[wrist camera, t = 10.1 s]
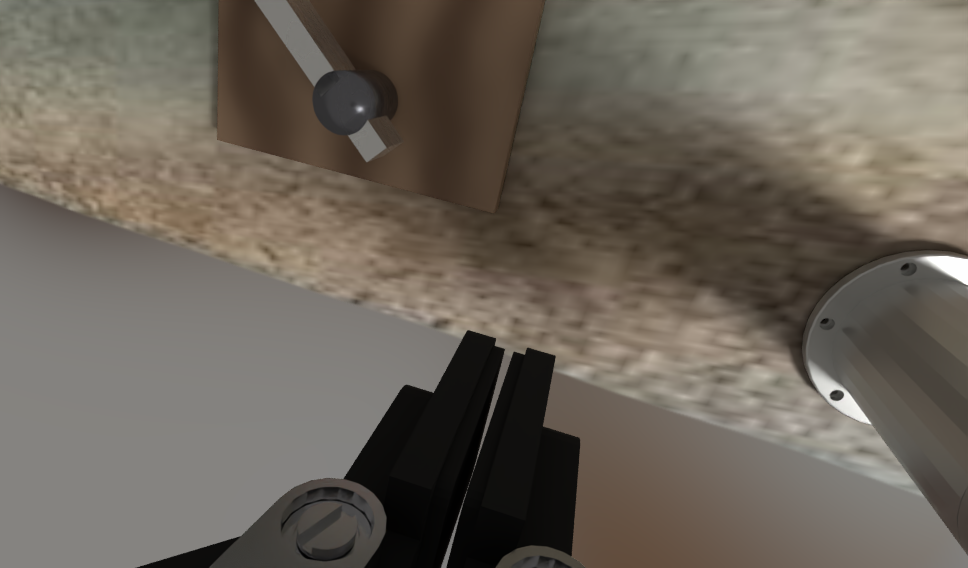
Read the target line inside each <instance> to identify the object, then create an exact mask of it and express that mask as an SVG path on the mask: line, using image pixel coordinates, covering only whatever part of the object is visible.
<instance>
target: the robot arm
mask: <svg viewBox="0 0 968 568" xmlns="http://www.w3.org/2000/svg"><path fill="white" fill-rule="evenodd" d="M904 264H905V266H904V267H902V266H903V265H904ZM901 267H902V268H901ZM825 318H826V319H825ZM823 319H825V320H824V321H822V320H823ZM495 342H496V338H493V337H490V336H486V335H483V334H479V333H476V332H473V331H469V330H467V332H466V334H465V336H464V337H463V339H462V341H461V343H460V345H459V347H458V349H457V350H456V352H455V354H454V356H453V358H452V360H451V362H450V364H449V365H448V367H447V369H446V371H445V373H444V375H443V376H442V378H441V381H440V382H439V384H438V386H437V388H436V389H435V391H434V393H432V392H429V391H426V390H423V389H419V388H416V387H413V386H410V385H405V386H404V387H403V388H402V389H401V390H400V392H399V393H398V395H397V397H396V398H395V400H394V401H393V403H392V404H391V406H390V407H389V409H388V411H387V412H386V414H385V415H384V417H383V418H382V420H381V421H380V423H379V424H378V426H377V428H376V429H375V431H374V432H373V434H372V436H371V437H370V439H369V440H368V442H367V443H366V445H365V446H364V448H363V449H362V451H361V453H360V454H359V456H358V457H357V459H356V460H355V462H354V463H353V465H352V466H351V468H350V470H349V471H348V473H347V474H346V476H345V477H344V479H335V478H334V479H333V478H324V479H318V480H311V481H309V482H306V483H303V484H301V485H299V486H296V487H294V488H293V489H291V490H290V491H288V492H287V493H286V494H284V495H283V496H282V497H281V498H280V499H278V501H276V502H275V503H274V505H272V506H271V507H270V508H269V509H268V510H267V511H266V512H265V513H264V514H263V515H262V516H261V517H260V518H259V519H258V520H257V521H256V522H255V523H254V524H253V525H252V526H251V527H250V528H249V529H248V530H247V531H246V532H245V533H244V534H243V535H242V536H240V537H237V538H233V539H230V540H227V541H223V542H220V543H217V544H213V545H210V546H207V547H204V548H200V549H197V550H193V551H190V552H187V553H183V554H180V555H177V556H174V557H170V558H167V559H163V560H161V561H157V562H154V563H150V564H147V565H144V566H140V567H137V568H441V565H442V562H443V560H444V556H445V554H446V551H447V548H448V545H449V542H450V539H451V536H452V533H453V530H454V527H455V524H456V521H457V518H458V515H459V512H460V509H461V506H462V503H463V500H464V497H465V494H466V497H465V500H464V503H463V507H462V510H461V514H460V517H459V522H458V525H457V529H456V533H455V537H454V541H453V544H452V548H451V553H450V556H449V560H448V564H447V568H585V567H584V566H583V565H582V564H581V563H580V562H579V561H577V560H576V559H574V558H572V557H571V556H572V543H573V542H572V541H573V529H574V517H575V504H576V491H577V477H578V466H579V452H580V439H579V438H578V437H575V436H572V435H569V434H565V433H562V432H559V431H556V430H552V429H549V428H546V427H543V422H544V417H545V411H546V406H547V400H548V394H549V390H550V384H551V379H552V373H553V368H554V363H555V357H556V356H555V355H551V354H548V353H544V352H541V351H537V350H534V349H531V348H527V350H526V353H525V355H523V354H520V353H517V352H513V355H512V358H511V361H510V365H509V367H508V370H507V374H506V376H505V379H504V382H503V386H502V388H501V391H500V394H499V398H498V400H497V403H496V406H495V409H494V412H493V415H492V418H491V421H490V424H489V427H488V430H487V433H486V436H485V439H484V442H483V445H482V448H481V451H480V454H479V457H478V460H477V463H476V466H475V462H476V459H477V455H478V451H479V447H480V444H481V439H482V436H483V432H484V428H485V424H486V420H487V416H488V413H489V409H490V405H491V401H492V398H493V394H494V390H495V386H496V382H497V378H498V374H499V371H500V367H501V363H502V359H503V355H504V351H505V349H503V348H500V347H496V346H495ZM802 355H803V361H804V366H805V369H806V371H807V374H808V376H809V378H810V380H811V382H812V383H813V385H814V386H815V388H816V390H817V391H818V393H819V394H820V395H821V396H822V397H823V398H824V400H825V401H826V402H827V403H828V404H830V405H831V406H832V407H834V408H835V409H836V410H838V411H839V412H840V413H842V414H844V415H846V416H848V417H850V418H852V419H854V420H856V421H858V422H862V423H865V424H869V425H872V426H873V427H874V428H875V429H876V431H877V432H878V433H879V435H880V436H881V438H882V439H883V440H884V442H885V443H886V444H887V446H888V447H889V448H890V450H891V451H892V453H893V454H894V455H895V457H896V458H897V459H898V461H899V462H900V464H901V465H902V466H903V468H904V469H905V470H906V472H907V473H908V474H909V476H910V477H911V479H912V480H913V481H914V483H915V484H916V485H917V487H918V488H919V490H920V491H921V492H922V494H923V495H924V496H925V498H926V499H927V500H928V502H929V503H930V504H931V506H932V507H933V509H934V510H935V511H936V513H937V514H938V515H939V517H940V518H941V519H942V521H943V522H944V523H945V525H946V526H947V528H948V529H949V531H950V532H951V533H952V535H953V536H954V537H955V539H956V540H957V541H958V543H959V544H960V546H961V547H962V548H963V550H964V551H965V552H966V554H967V555H968V256H966V255H962V254H958V253H954V252H949V251H936V250H922V251H910V252H903V253H899V254H895V255H891V256H886V257H883V258H880V259H878V260H875V261H873V262H871V263H868V264H866V265H863V266H862V267H860V268H858V269H856V270H855V271H853V272H851V273H850V274H848V275H846V276H845V277H844V278H842V279H841V280H840V281H839V282H837V283H836V284H835V285H834V286H833V287H831V288H830V289H829V290H828V291H827V293H826V294H825V295H824V296H823V297H822V298H821V300H820V301H819V302H818V303H817V305H816V306H815V308H814V310H813V312H812V313H811V315H810V317H809V319H808V321H807V325H806V328H805V331H804V334H803V343H802ZM474 466H475V469H474ZM473 470H474V472H473ZM472 473H473V475H472ZM471 476H472V478H471ZM470 479H471V481H470ZM469 482H470V484H469ZM468 485H469V487H468ZM467 488H468V490H467ZM466 491H467V493H466Z"/></svg>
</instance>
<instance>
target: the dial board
mask: <svg viewBox="0 0 968 568" xmlns="http://www.w3.org/2000/svg"><path fill="white" fill-rule="evenodd" d="M309 1H310V2H311V4H312V5H313V7H314V8H315V10H316V11H317V13H318V14H319V16H320V17H321V19H322V20H323V22H324V23H325V25H326V26H327V28H328V29H329V31H330V32H331V34H332V35H333V37H334V38H335V40H336V41H337V43H338V44H339V45H340V47H341V48H342V50H343V51H344V53H345V54H346V56H347V57H348V59H349V60H350V62H351V63H352V65H353V66H354V68H355V69H356V70H376V71H379V72H381V73H383V74H384V75H386V76H387V77H388V78H389V79H390V80H391V81H392V83H393V84H394V86H395V88H396V91H397V95H398V107H397V111H396V113H395V116H394V117H393V119H392V120H391V121H390V122H391V123H392V124H393V126H394V127H395V129H396V130H397V132H398V133H399V135H400V136H401V138H402V139H403V141H404V142H402V143H401V144H400V145H398V146H397V147H396V148H394V149H393V150H391V151H390V152H389V153H387V154H386V155H384V156H382V157H379V158H377V159H374V160H372V161H369V162H366V161H365V159H364V158H363V157H362V155H361V154H360V152H359V151H358V149H357V148H356V146H355V145H354V144H353V142H352V141H351V139H350V138H349V136H348V135H338V134H335V133H332V132H331V131H329V130H328V129H326V128H325V127H324V126H323V125H322V124H321V123H320V121H319V120H318V118H317V116H316V114H315V111H314V108H313V102H312V96H313V91H314V86H313V84H312V83H311V81H310V80H309V79H308V77H307V76H306V74H305V73H304V71H303V70H302V68H301V67H300V66H299V64H298V63H297V61H296V60H295V58H294V57H293V55H292V54H291V53H290V51H289V50H288V48H287V47H286V45H285V44H284V42H283V41H282V40H281V38H280V37H279V35H278V34H277V32H276V31H275V29H274V28H273V27H272V25H271V24H270V22H269V21H268V19H267V18H266V16H265V15H264V14H263V12H262V11H261V9H260V8H259V6H258V5H257V3H256V2H255V1H254V0H219V16H218V113H217V140H220V141H223V142H227V143H231V144H235V145H238V146H242V147H246V148H250V149H253V150H257V151H261V152H265V153H268V154H272V155H276V156H280V157H283V158H287V159H291V160H295V161H298V162H302V163H306V164H310V165H313V166H317V167H321V168H325V169H328V170H332V171H336V172H340V173H343V174H347V175H351V176H355V177H358V178H362V179H366V180H370V181H373V182H377V183H381V184H385V185H388V186H392V187H396V188H400V189H403V190H407V191H411V192H415V193H419V194H422V195H426V196H430V197H434V198H437V199H441V200H445V201H449V202H452V203H456V204H460V205H464V206H467V207H471V208H475V209H479V210H482V211H486V212H490V213H495V212H496V211H497V209H498V207H499V202H500V198H501V194H502V189H503V185H504V180H505V176H506V172H507V167H508V163H509V158H510V154H511V150H512V145H513V141H514V136H515V132H516V128H517V123H518V119H519V114H520V110H521V106H522V101H523V97H524V92H525V88H526V84H527V79H528V75H529V70H530V66H531V62H532V57H533V53H534V48H535V44H536V40H537V35H538V31H539V26H540V22H541V18H542V13H543V9H544V4H545V0H309Z"/></svg>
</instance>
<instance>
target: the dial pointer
mask: <svg viewBox="0 0 968 568" xmlns="http://www.w3.org/2000/svg"><path fill="white" fill-rule="evenodd" d="M254 1H255V2H256V3H257V5H258V6H259V8H260V9H261V11H262V12H263V14H264V15H265V16H266V18H267V19H268V21H269V22H270V24H271V25H272V27H273V28H274V29H275V31H276V32H277V34H278V35H279V37H280V38H281V40H282V41H283V42H284V44H285V45H286V47H287V48H288V50H289V51H290V53H291V54H292V55H293V57H294V58H295V60H296V61H297V63H298V64H299V66H300V67H301V68H302V70H303V71H304V73H305V74H306V76H307V77H308V79H309V80H310V81H311V83H312V84H313V86H314V91H313V96H312V102H313V108H314V111H315V114H316V116H317V118H318V120H319V121H320V123H321V124H322V125H323V126H324V127H325V128H326V129H328V130H329V131H331V132H332V133H335V134H338V135H348V136H349V138H350V139H351V141H352V142H353V144H354V145H355V146H356V148H357V149H358V151H359V152H360V154H361V155H362V157H363V158H364V159H365V161H366V162H369V161H372V160H374V159H377V158H379V157H382V156H384V155H386V154H387V153H389V152H390V151H391V150H393V149H394V148H396V147H397V146H398V145H400V144H401V143H402V142H404V141H403V139H402V138H401V136H400V135H399V133H398V132H397V130H396V129H395V127H394V126H393V124H392V123H391V122H390V121H391V120H392V119H393V117H394V116H395V113H396V111H397V107H398V95H397V91H396V88H395V86H394V84H393V83H392V81H391V80H390V79H389V78H388V77H387V76H386V75H384V74H383V73H381V72H379V71H376V70H356V69H355V68H354V66H353V65H352V63H351V62H350V60H349V59H348V57H347V56H346V54H345V53H344V51H343V50H342V48H341V47H340V45H339V44H338V43H337V41H336V40H335V38H334V37H333V35H332V34H331V32H330V31H329V29H328V28H327V26H326V25H325V23H324V22H323V20H322V19H321V17H320V16H319V14H318V13H317V11H316V10H315V8H314V7H313V5H312V4H311V2H310V1H309V0H254Z"/></svg>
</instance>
